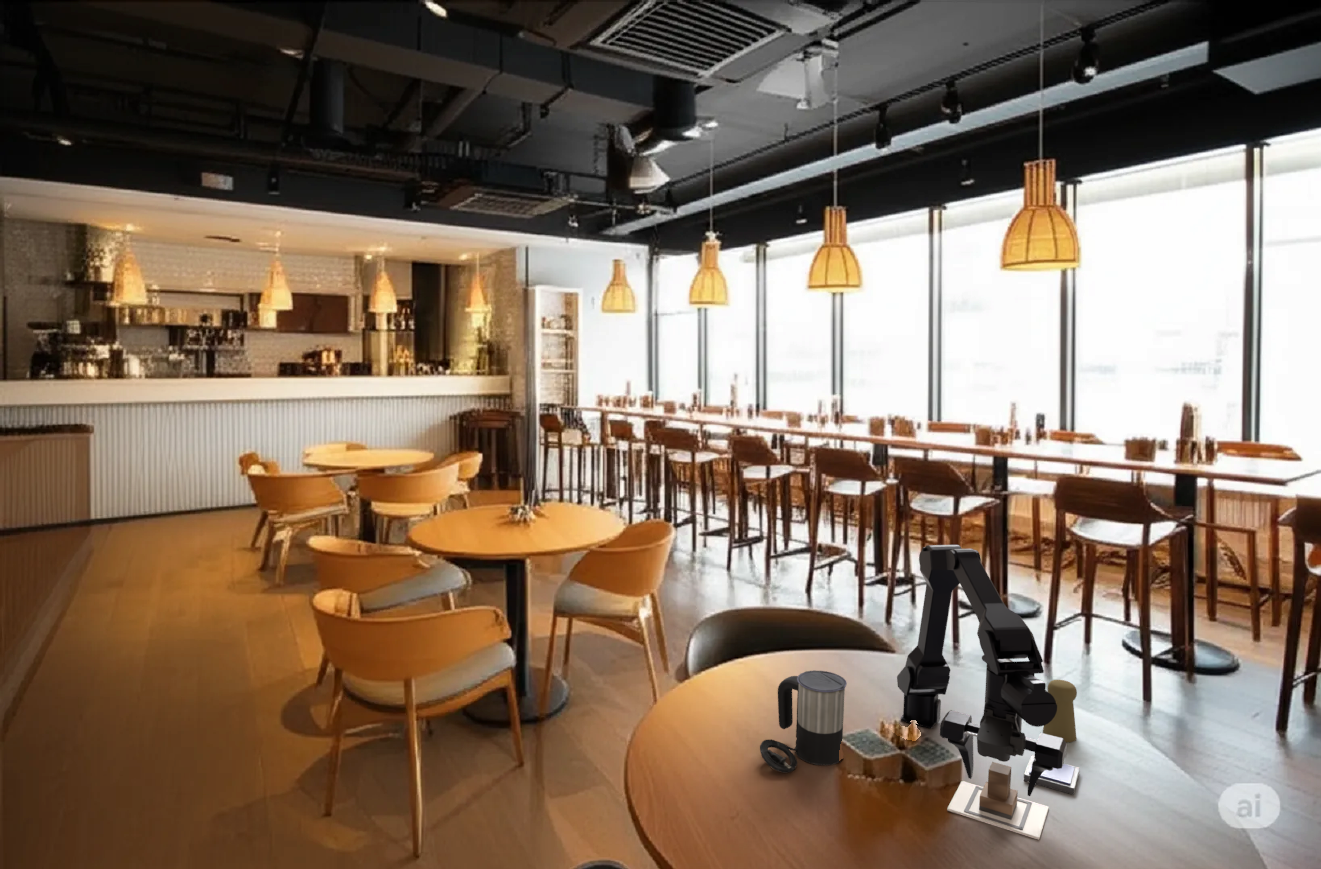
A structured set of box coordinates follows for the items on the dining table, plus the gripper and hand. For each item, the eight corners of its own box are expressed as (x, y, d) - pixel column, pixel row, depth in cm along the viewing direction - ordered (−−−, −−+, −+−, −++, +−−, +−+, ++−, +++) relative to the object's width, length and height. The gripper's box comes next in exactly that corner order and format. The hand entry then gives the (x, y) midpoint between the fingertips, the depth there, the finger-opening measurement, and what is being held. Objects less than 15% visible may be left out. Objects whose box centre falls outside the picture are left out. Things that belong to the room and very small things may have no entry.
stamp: (979, 809, 130) (980, 770, 129) (985, 795, 134) (987, 757, 133) (1011, 819, 127) (1013, 779, 126) (1016, 805, 131) (1018, 765, 130)
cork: (1080, 743, 152) (1084, 690, 151) (1047, 740, 153) (1050, 687, 152) (1070, 728, 158) (1074, 677, 157) (1039, 726, 159) (1041, 674, 158)
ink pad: (1023, 780, 139) (1024, 772, 139) (1031, 760, 146) (1031, 753, 146) (1073, 794, 135) (1074, 786, 135) (1079, 773, 142) (1079, 766, 141)
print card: (947, 810, 130) (947, 807, 130) (961, 782, 139) (961, 779, 139) (1039, 839, 123) (1039, 836, 123) (1048, 808, 131) (1048, 805, 131)
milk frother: (849, 748, 151) (851, 674, 149) (829, 789, 137) (831, 709, 135) (778, 732, 157) (779, 661, 155) (753, 770, 143) (753, 693, 141)
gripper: (932, 701, 127) (929, 790, 129) (1059, 732, 117) (1054, 829, 118) (950, 677, 136) (946, 761, 138) (1069, 704, 126) (1064, 795, 127)
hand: (999, 785), depth 130 cm, fingers open, 9 cm apart
